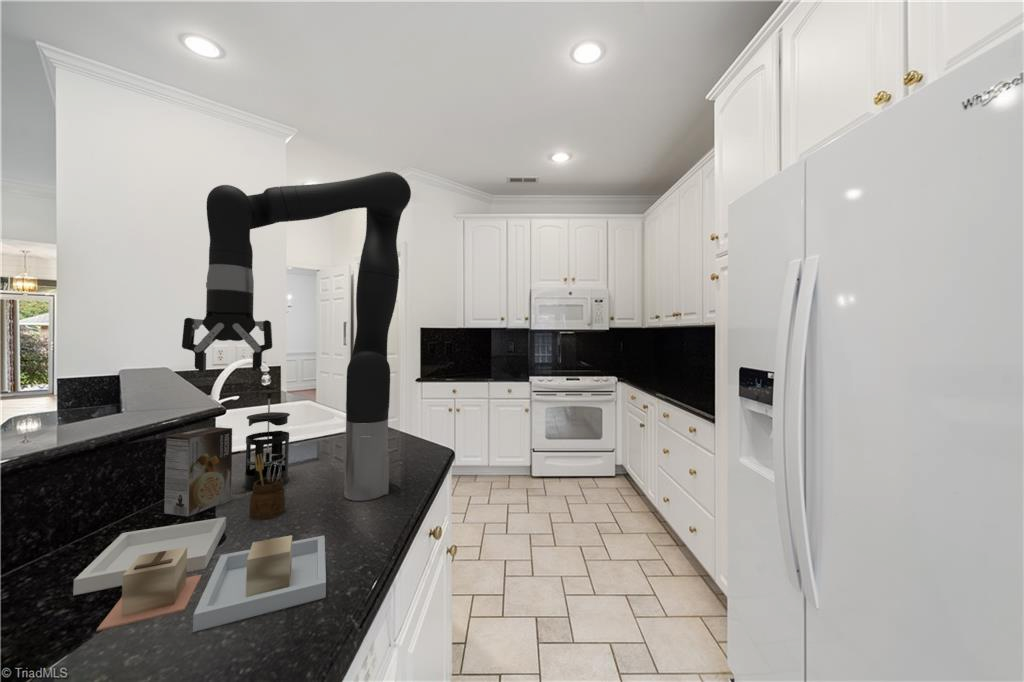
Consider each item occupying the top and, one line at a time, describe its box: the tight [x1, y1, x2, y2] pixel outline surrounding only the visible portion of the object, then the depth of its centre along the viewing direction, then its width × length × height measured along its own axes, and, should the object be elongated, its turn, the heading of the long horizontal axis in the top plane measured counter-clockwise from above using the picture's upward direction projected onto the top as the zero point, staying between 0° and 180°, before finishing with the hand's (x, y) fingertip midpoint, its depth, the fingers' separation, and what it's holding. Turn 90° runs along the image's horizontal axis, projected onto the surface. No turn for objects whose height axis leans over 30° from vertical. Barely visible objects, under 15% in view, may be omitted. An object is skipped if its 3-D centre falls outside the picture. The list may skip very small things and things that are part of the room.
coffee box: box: [163, 426, 233, 517], centre depth 78 cm, size 9×6×16 cm
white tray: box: [72, 516, 227, 596], centre depth 60 cm, size 14×14×3 cm
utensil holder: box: [249, 454, 286, 521], centre depth 75 cm, size 6×6×12 cm
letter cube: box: [121, 547, 188, 617], centre depth 50 cm, size 5×5×5 cm
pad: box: [96, 574, 203, 632], centre depth 49 cm, size 8×8×1 cm
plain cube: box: [246, 535, 293, 597], centre depth 54 cm, size 5×5×5 cm
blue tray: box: [192, 535, 327, 633], centre depth 54 cm, size 14×14×3 cm
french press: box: [242, 389, 291, 492], centre depth 93 cm, size 12×9×23 cm
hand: (229, 371), depth 75 cm, fingers open, 8 cm apart
